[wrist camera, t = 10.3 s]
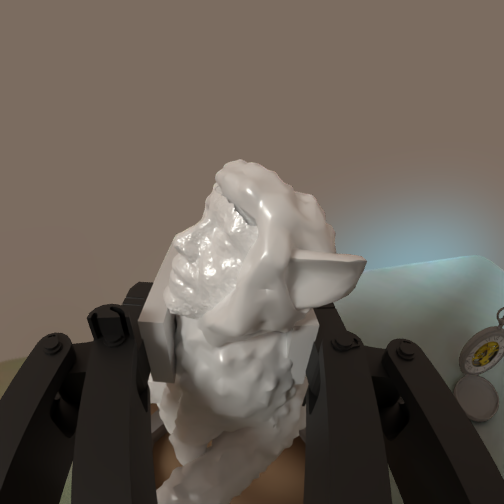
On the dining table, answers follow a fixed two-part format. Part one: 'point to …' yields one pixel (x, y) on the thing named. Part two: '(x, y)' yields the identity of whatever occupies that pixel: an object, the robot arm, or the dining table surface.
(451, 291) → the dining table surface
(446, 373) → the dining table surface
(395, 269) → the dining table surface
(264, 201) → the seated beast figurine
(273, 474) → the brown wooden disc
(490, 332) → the pocket watch
